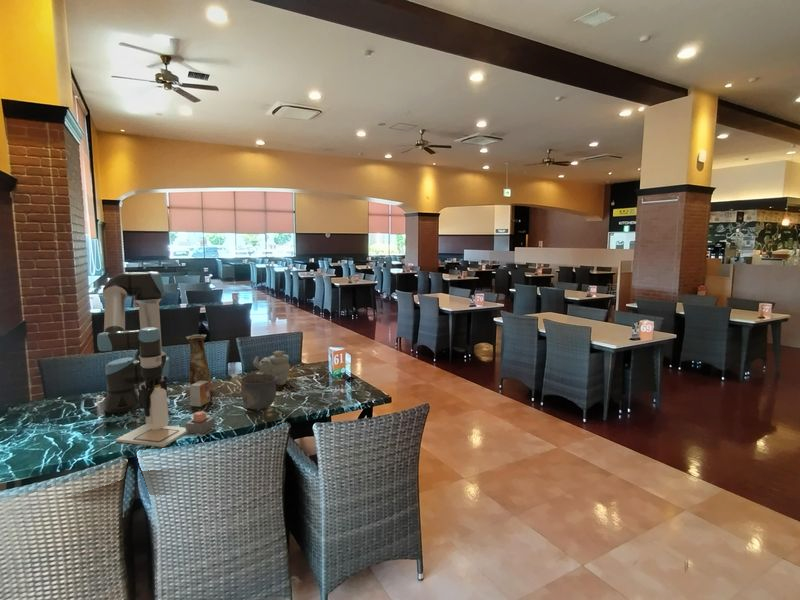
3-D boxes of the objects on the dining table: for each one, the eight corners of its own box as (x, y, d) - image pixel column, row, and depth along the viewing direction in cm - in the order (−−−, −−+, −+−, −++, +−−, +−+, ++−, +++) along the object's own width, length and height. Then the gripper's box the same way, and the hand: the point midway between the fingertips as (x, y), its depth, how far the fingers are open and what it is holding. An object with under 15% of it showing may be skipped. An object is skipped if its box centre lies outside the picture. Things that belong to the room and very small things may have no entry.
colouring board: (116, 441, 179) (115, 438, 179) (146, 425, 195) (146, 423, 194) (163, 447, 174) (163, 444, 174) (191, 430, 190) (190, 427, 190)
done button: (190, 424, 189) (190, 415, 188) (198, 419, 194) (198, 410, 193) (201, 425, 188) (200, 416, 187) (209, 420, 192) (208, 411, 192)
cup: (286, 403, 221) (285, 374, 219) (266, 417, 205) (265, 385, 203) (254, 400, 226) (253, 371, 224) (233, 413, 209) (231, 381, 207)
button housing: (185, 432, 188) (185, 423, 187) (198, 424, 196) (197, 415, 195) (202, 434, 186) (202, 424, 186) (214, 426, 194) (214, 417, 193)
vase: (203, 394, 235) (200, 338, 231) (185, 393, 237) (181, 337, 233) (214, 388, 245) (212, 334, 241) (197, 387, 247) (193, 333, 243)
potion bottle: (172, 422, 192) (169, 381, 189) (163, 430, 183) (159, 387, 181) (152, 422, 191) (149, 381, 189) (142, 430, 183) (138, 388, 181)
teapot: (252, 384, 252) (251, 351, 249) (272, 377, 265) (271, 346, 262) (275, 388, 244) (274, 355, 242) (293, 381, 257) (292, 349, 255)
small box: (200, 407, 217) (199, 385, 216) (190, 406, 218) (189, 385, 217) (210, 401, 225) (209, 380, 224) (200, 400, 226) (199, 380, 225)
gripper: (141, 372, 173) (145, 430, 176) (175, 360, 191) (178, 413, 194) (125, 371, 175) (129, 428, 178) (160, 359, 193) (163, 411, 196)
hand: (155, 420), depth 186 cm, fingers open, 5 cm apart
